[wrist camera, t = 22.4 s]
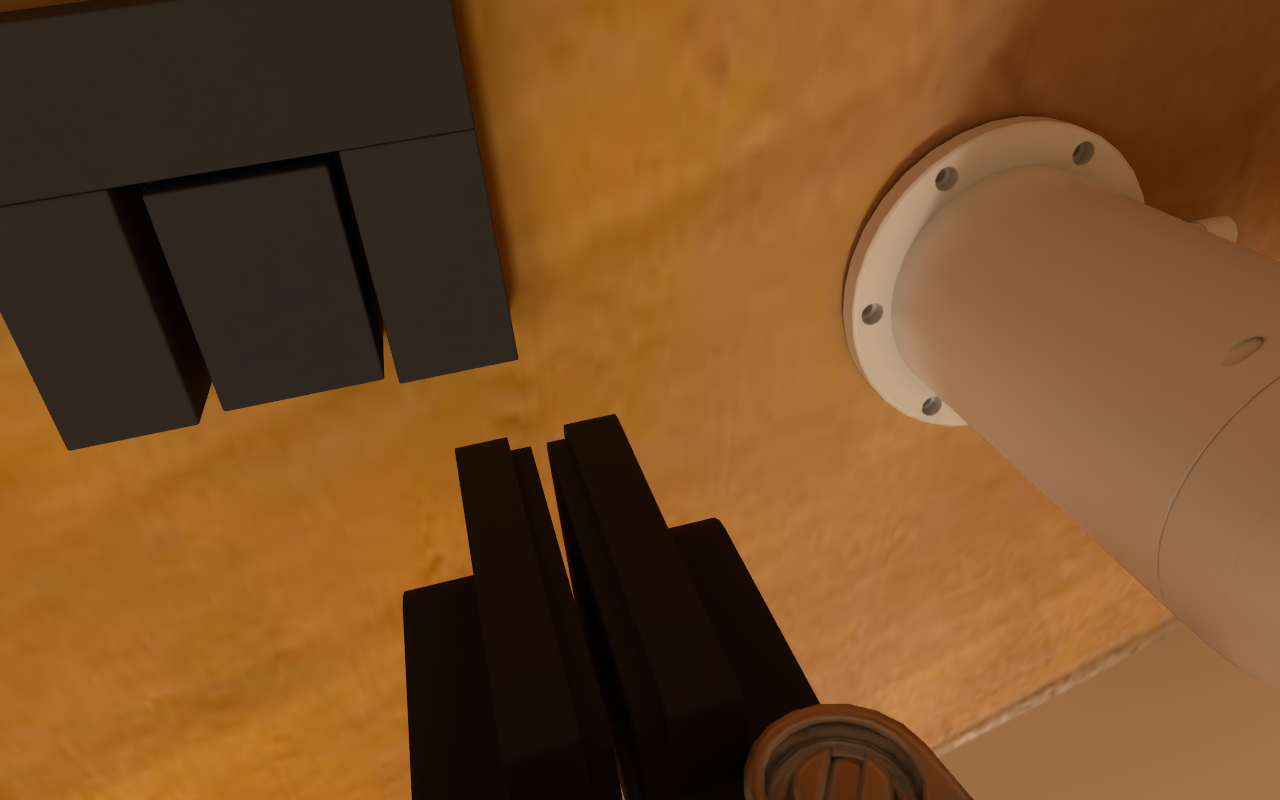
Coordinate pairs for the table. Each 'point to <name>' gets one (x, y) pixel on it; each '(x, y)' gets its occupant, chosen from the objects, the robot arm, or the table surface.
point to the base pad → (216, 140)
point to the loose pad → (270, 278)
